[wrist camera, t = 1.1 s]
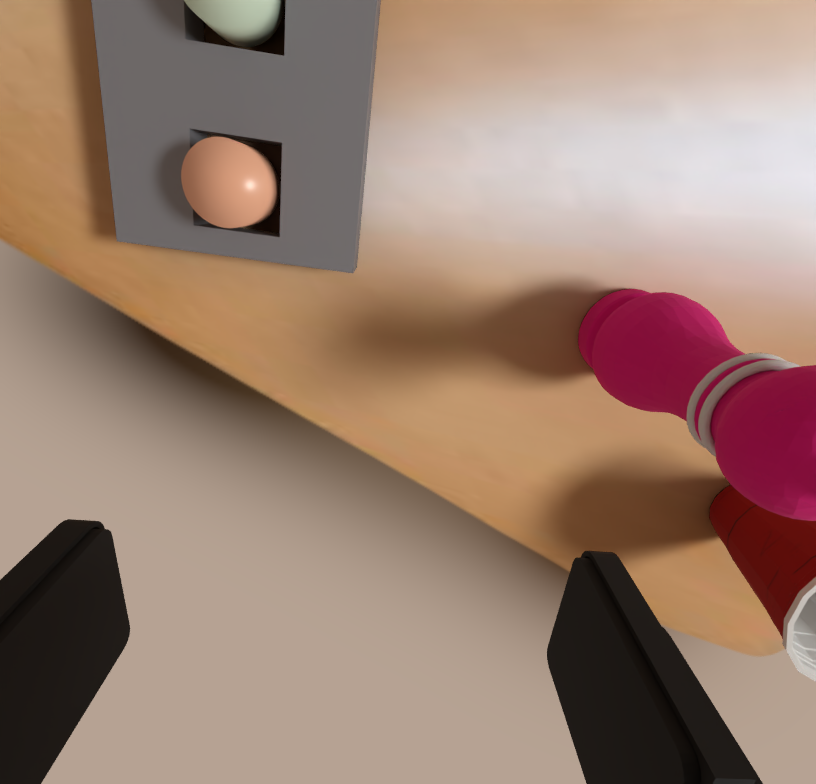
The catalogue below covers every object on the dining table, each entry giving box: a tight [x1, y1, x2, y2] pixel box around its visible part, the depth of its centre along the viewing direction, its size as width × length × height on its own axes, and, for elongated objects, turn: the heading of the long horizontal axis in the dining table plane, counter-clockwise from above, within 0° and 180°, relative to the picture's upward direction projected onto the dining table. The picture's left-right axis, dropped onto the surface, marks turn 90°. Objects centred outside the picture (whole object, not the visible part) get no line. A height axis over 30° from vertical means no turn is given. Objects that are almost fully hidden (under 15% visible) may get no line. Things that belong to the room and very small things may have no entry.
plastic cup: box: [709, 485, 816, 681], centre depth 33 cm, size 11×11×12 cm
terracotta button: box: [181, 137, 280, 228], centre depth 25 cm, size 4×4×3 cm
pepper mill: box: [578, 289, 816, 521], centre depth 23 cm, size 7×7×20 cm
